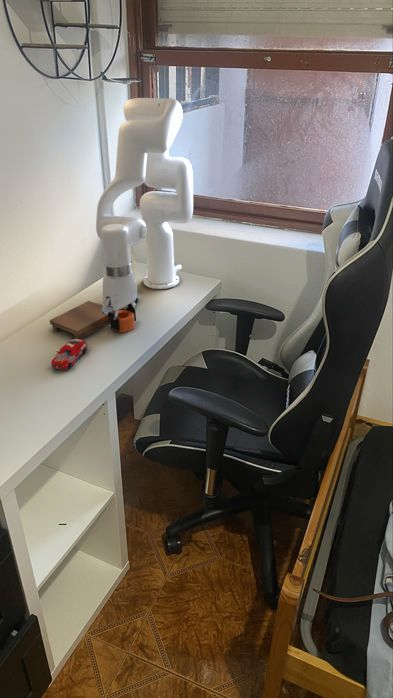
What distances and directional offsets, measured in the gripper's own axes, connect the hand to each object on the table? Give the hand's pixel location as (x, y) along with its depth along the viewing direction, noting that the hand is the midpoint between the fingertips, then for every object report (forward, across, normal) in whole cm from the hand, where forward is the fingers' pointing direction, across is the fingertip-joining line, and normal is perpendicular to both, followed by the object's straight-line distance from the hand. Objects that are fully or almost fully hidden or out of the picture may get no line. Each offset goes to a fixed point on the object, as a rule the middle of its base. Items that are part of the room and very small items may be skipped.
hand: (123, 324), depth 158 cm
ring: (+1, 0, 0) cm, 1 cm away
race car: (+1, +22, 0) cm, 22 cm away
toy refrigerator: (+1, -11, -10) cm, 15 cm away
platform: (+1, +6, -10) cm, 12 cm away
